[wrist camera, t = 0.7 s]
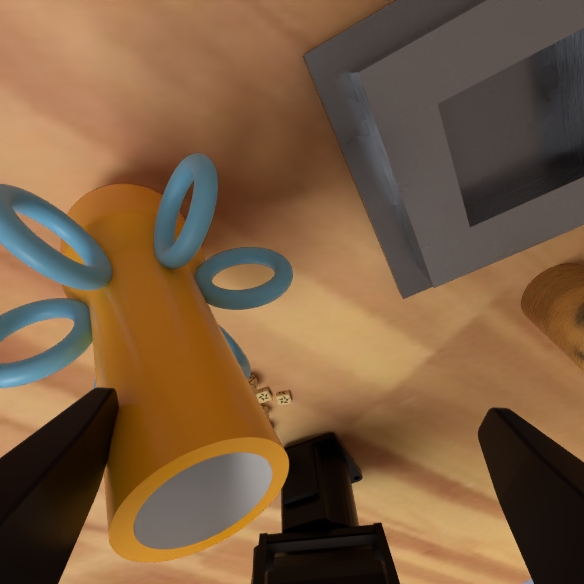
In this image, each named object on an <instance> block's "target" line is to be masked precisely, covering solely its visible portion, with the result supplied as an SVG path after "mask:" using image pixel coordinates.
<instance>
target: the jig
mask: <svg viewBox="0 0 584 584" xmlns="http://www.w3.org/2000/svg"><path fill="white" fill-rule="evenodd" d="M303 58H304V61H305V63H306V66H307V68H308V71H309V73H310V75H311V78H312V80H313V83H314V85H315V88H316V90H317V92H318V95H319V97H320V100H321V102H322V105H323V107H324V110H325V112H326V114H327V117H328V119H329V122H330V124H331V127H332V129H333V131H334V134H335V136H336V139H337V141H338V144H339V146H340V149H341V151H342V153H343V156H344V158H345V161H346V163H347V166H348V168H349V170H350V173H351V175H352V178H353V180H354V183H355V185H356V187H357V190H358V192H359V195H360V197H361V200H362V202H363V205H364V207H365V209H366V212H367V214H368V217H369V219H370V222H371V224H372V226H373V229H374V231H375V234H376V236H377V239H378V241H379V244H380V246H381V248H382V251H383V253H384V256H385V258H386V261H387V263H388V265H389V268H390V270H391V273H392V275H393V278H394V280H395V283H396V285H397V287H398V290H399V292H400V294H401V296H402V297H403V299H404V298H407V297H409V296H412V295H414V294H416V293H419V292H421V291H423V290H426V289H428V288H430V287H434V288H435V287H438V286H440V285H442V284H445V283H447V282H449V281H452V280H454V279H456V278H459V277H461V276H464V275H466V274H468V273H471V272H473V271H475V270H478V269H480V268H483V267H485V266H487V265H490V264H492V263H494V262H497V261H499V260H502V259H504V258H506V257H509V256H511V255H513V254H516V253H518V252H521V251H523V250H525V249H528V248H530V247H532V246H535V245H537V244H540V243H542V242H544V241H547V240H549V239H551V238H554V237H556V236H559V235H561V234H563V233H566V232H568V231H570V230H573V229H575V228H578V227H580V226H582V225H584V0H396V1H394V2H392V3H391V4H389V5H387V6H386V7H384V8H382V9H380V10H379V11H377V12H375V13H374V14H372V15H370V16H369V17H367V18H365V19H364V20H362V21H360V22H359V23H357V24H355V25H353V26H352V27H350V28H348V29H347V30H345V31H343V32H342V33H340V34H338V35H337V36H335V37H333V38H331V39H330V40H328V41H326V42H325V43H323V44H321V45H320V46H318V47H316V48H315V49H313V50H311V51H310V52H308V53H306V54H304V55H303Z"/></svg>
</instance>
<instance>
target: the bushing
mask: <svg viewBox="0 0 584 584" xmlns="http://www.w3.org/2000/svg"><path fill="white" fill-rule="evenodd" d="M521 307H522V311H523V313H524V314H525V316H526V317H527V318H528V319H529V320H530V321H531V322H532V323H534V324H535V325H536V326H537V327H538V328H539V329H540V330H541V331H542V332H543V333H544V334H545V335H546V336H547V337H548V338H549V339H550V340H551V341H552V342H553V343H554V344H555V345H557V346H558V347H559V348H560V349H561V350H562V351H563V352H564V353H565V354H566V355H567V356H568V357H569V358H570V359H571V360H572V361H573V362H574V363H575V364H576V365H577V366H578V367H580V368H581V369H582V370H583V371H584V267H583V266H580V265H577V264H562V265H558V266H555V267H552V268H550V269H548V270H546V271H544V272H543V273H541V274H540V275H538V276H537V277H536V278H535V279H534V280H533V281H532V282H531V283H530V284H529V285H528V287H527V288H526V290H525V292H524V294H523V296H522V301H521Z"/></svg>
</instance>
